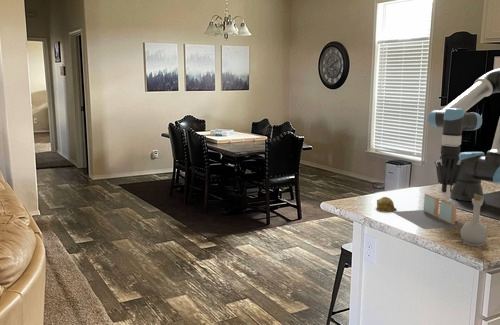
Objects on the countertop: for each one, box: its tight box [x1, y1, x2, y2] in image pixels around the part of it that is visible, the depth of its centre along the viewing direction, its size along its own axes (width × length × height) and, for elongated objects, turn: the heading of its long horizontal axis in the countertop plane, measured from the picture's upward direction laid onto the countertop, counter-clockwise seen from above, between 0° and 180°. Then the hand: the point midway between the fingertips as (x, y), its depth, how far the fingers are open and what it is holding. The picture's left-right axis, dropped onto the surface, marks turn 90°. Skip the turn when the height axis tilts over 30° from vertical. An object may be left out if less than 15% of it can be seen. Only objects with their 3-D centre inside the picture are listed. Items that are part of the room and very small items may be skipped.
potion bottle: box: [459, 194, 488, 247], centre depth 164 cm, size 9×9×18 cm
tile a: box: [422, 193, 440, 217], centre depth 199 cm, size 2×8×8 cm, turn 14°
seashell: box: [376, 196, 397, 213], centre depth 206 cm, size 10×7×8 cm
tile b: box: [439, 199, 458, 224], centre depth 188 cm, size 2×8×8 cm, turn 14°
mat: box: [392, 209, 464, 230], centre depth 192 cm, size 18×24×1 cm
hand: (445, 199), depth 200 cm, fingers closed
